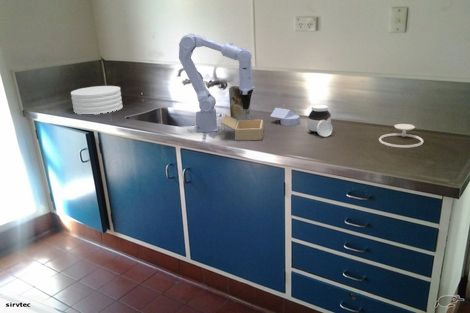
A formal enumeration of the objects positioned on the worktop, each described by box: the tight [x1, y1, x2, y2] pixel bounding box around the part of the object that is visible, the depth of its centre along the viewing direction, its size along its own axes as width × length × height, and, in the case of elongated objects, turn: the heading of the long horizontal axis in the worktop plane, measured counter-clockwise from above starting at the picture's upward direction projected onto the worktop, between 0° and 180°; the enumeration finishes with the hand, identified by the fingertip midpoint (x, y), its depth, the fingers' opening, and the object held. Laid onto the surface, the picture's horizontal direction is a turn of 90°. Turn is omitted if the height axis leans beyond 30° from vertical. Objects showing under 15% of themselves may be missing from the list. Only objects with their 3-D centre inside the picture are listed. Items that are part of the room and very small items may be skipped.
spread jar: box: [307, 104, 333, 138], centre depth 189 cm, size 12×11×12 cm
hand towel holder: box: [378, 123, 424, 149], centre depth 176 cm, size 17×4×21 cm
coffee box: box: [228, 85, 252, 121], centre depth 219 cm, size 9×6×16 cm
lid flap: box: [221, 114, 238, 131], centre depth 192 cm, size 6×14×1 cm, turn 174°
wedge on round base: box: [270, 107, 301, 127], centre depth 209 cm, size 9×7×13 cm
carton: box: [234, 119, 264, 141], centre depth 192 cm, size 11×16×5 cm
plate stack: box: [70, 85, 124, 115], centre depth 258 cm, size 28×28×12 cm
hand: (246, 107), depth 199 cm, fingers open, 7 cm apart
